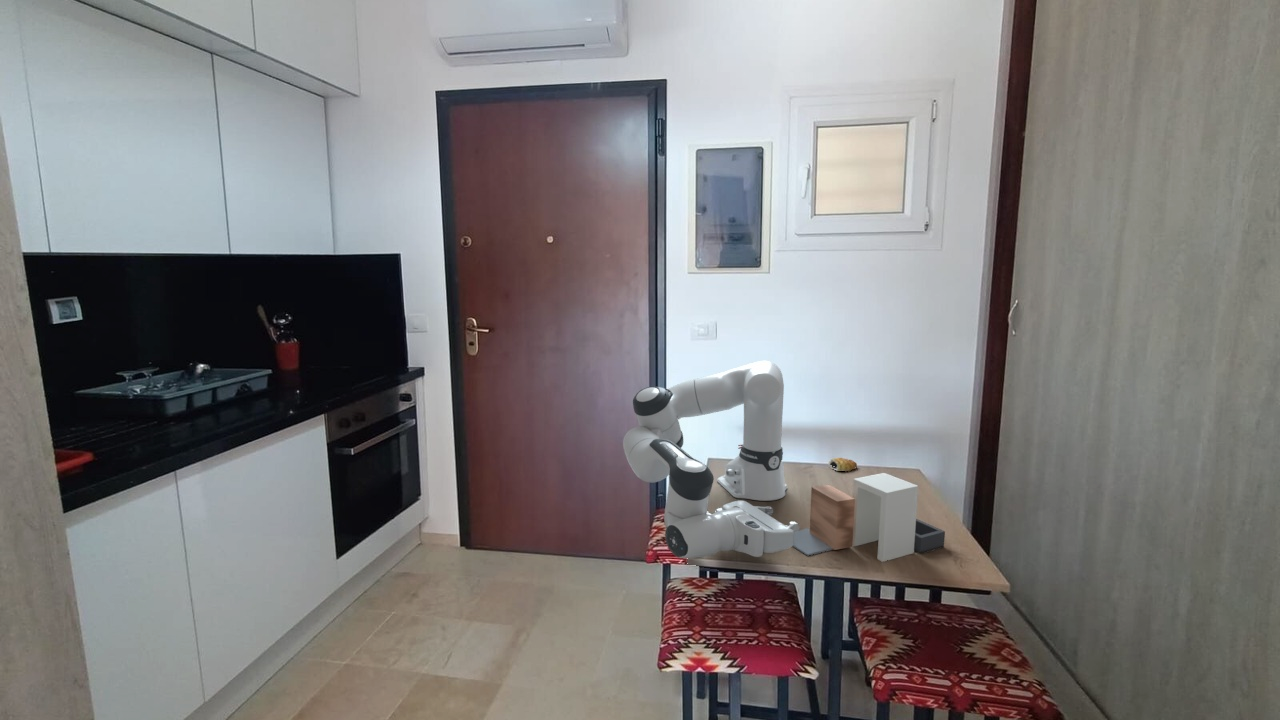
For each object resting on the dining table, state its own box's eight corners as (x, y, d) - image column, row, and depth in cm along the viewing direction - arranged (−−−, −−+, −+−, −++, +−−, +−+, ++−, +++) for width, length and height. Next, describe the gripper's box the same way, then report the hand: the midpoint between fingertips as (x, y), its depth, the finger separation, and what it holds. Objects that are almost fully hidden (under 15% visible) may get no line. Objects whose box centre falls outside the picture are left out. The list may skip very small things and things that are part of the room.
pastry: (847, 464, 204) (848, 453, 203) (862, 470, 198) (862, 459, 197) (825, 467, 201) (826, 456, 200) (839, 474, 194) (840, 463, 194)
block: (826, 529, 151) (828, 484, 149) (852, 546, 142) (854, 498, 140) (809, 532, 149) (811, 486, 148) (834, 549, 140) (837, 501, 138)
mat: (777, 537, 148) (777, 535, 148) (812, 529, 153) (812, 527, 153) (807, 556, 138) (807, 554, 138) (843, 546, 143) (843, 544, 143)
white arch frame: (849, 543, 144) (853, 478, 142) (880, 536, 148) (884, 472, 146) (882, 561, 135) (886, 492, 133) (913, 553, 140) (918, 485, 137)
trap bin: (879, 533, 150) (880, 518, 149) (902, 527, 153) (903, 513, 153) (920, 554, 139) (921, 537, 138) (943, 547, 142) (945, 531, 142)
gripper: (710, 523, 144) (756, 514, 150) (761, 561, 126) (812, 548, 132) (711, 498, 143) (757, 490, 149) (762, 533, 125) (813, 521, 131)
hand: (783, 517), depth 141 cm, fingers open, 8 cm apart
